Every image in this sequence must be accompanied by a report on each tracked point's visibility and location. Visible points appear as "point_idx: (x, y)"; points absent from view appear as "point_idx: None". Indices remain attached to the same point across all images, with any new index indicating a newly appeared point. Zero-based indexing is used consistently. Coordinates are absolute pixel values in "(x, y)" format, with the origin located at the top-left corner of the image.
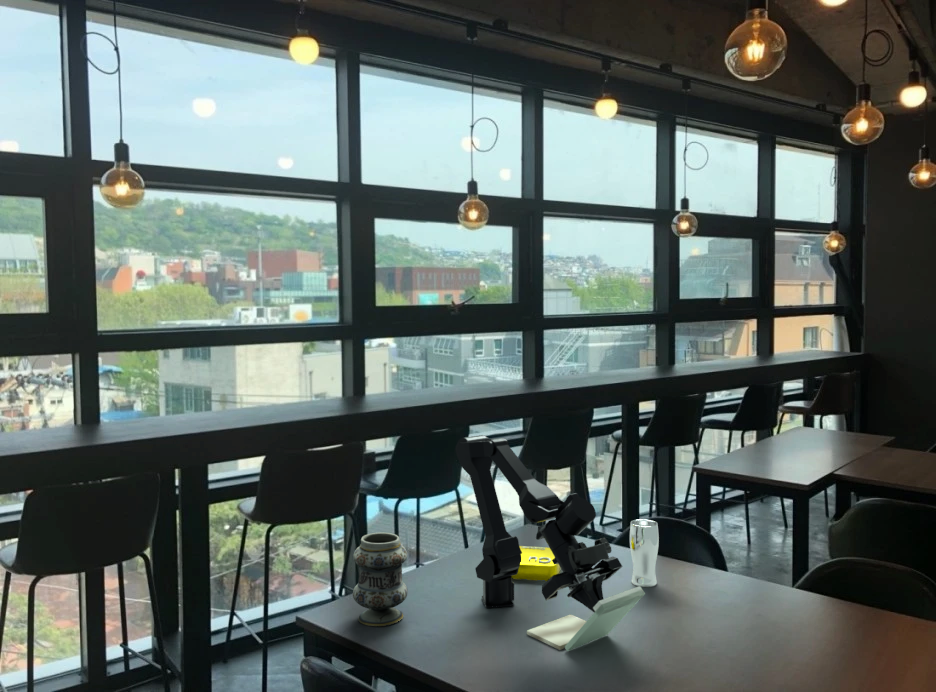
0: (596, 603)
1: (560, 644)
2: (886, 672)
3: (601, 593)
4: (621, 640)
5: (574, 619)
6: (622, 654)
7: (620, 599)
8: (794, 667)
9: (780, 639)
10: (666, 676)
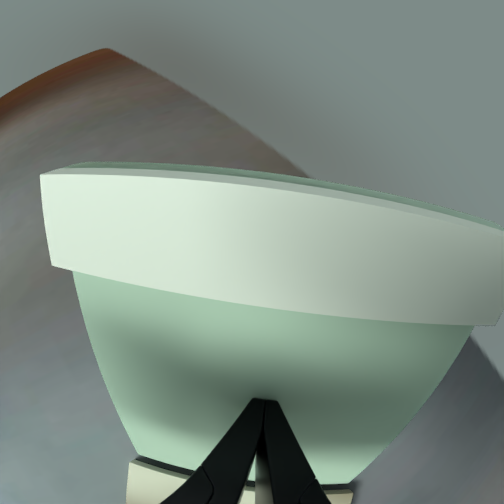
0: (305, 458)
1: (342, 499)
2: (91, 62)
3: (197, 488)
4: None
5: None
6: None
7: (342, 190)
8: (109, 93)
9: (27, 142)
10: None
